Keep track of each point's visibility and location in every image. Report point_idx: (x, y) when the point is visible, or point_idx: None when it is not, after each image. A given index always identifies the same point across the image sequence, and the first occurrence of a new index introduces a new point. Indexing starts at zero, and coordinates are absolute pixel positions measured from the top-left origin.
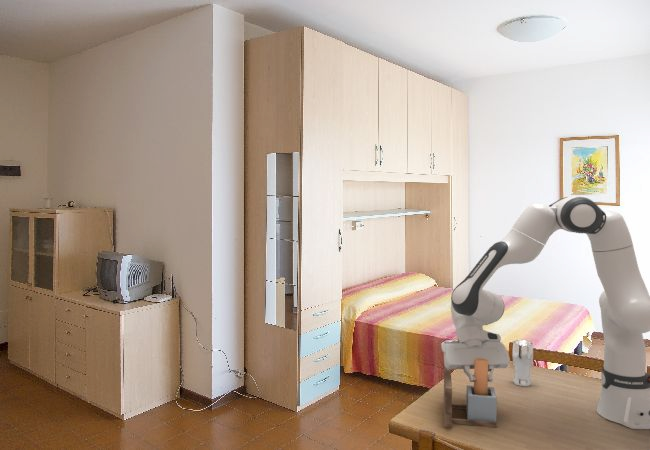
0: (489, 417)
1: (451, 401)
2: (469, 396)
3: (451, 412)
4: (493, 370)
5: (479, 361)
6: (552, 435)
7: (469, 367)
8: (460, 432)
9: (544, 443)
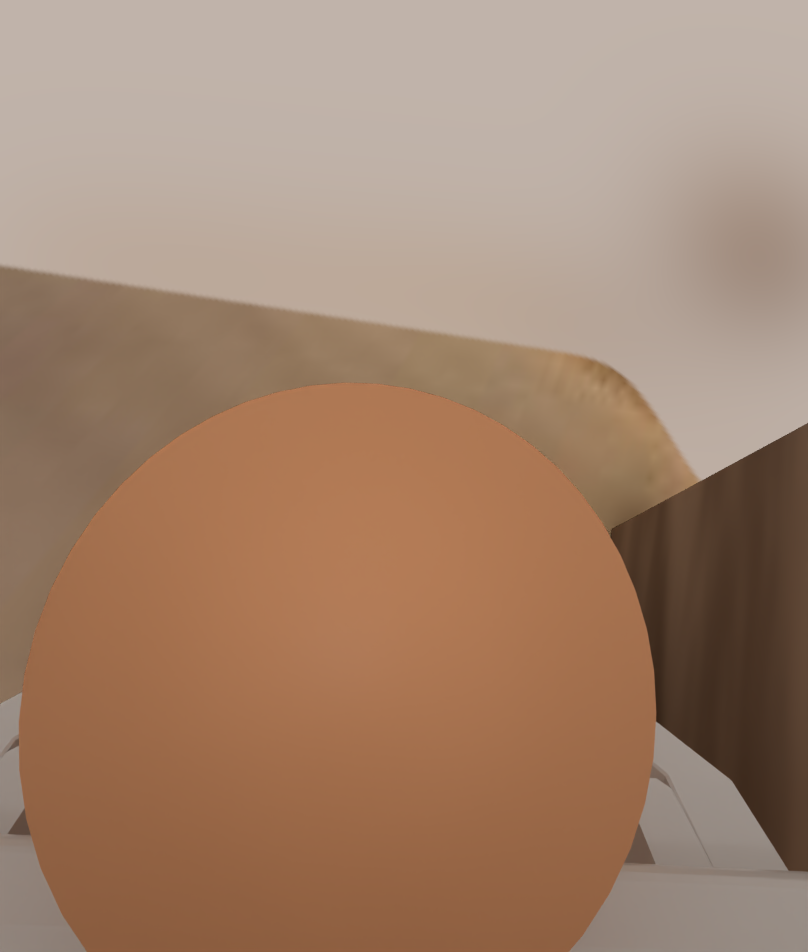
0: None
1: (740, 464)
2: None
3: (676, 497)
4: (12, 699)
5: (492, 529)
6: (39, 360)
7: (641, 818)
8: (570, 472)
9: (156, 298)
